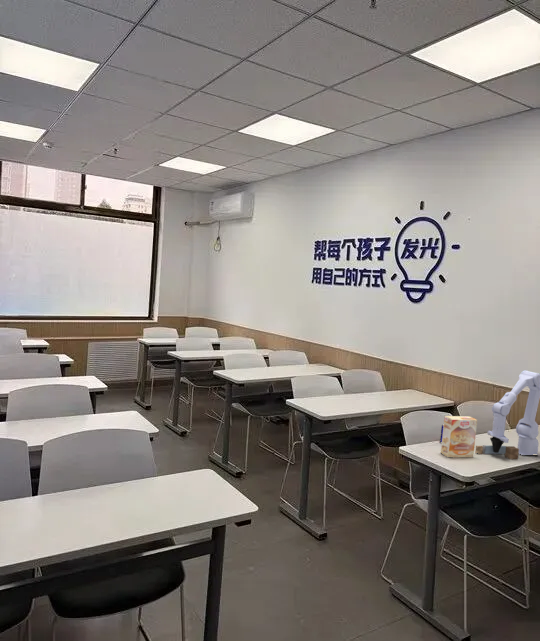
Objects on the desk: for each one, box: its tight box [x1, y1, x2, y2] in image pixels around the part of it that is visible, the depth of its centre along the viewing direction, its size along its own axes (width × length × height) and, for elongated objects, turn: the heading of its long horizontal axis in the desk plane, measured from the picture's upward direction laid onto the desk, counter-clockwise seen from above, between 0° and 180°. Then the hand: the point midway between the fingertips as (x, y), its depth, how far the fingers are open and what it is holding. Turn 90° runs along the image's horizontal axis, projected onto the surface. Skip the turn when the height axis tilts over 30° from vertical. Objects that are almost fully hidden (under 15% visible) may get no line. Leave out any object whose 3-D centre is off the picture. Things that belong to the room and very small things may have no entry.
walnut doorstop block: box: [504, 445, 519, 460], centre depth 265 cm, size 4×4×6 cm
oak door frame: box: [474, 445, 483, 455], centre depth 269 cm, size 18×2×4 cm, turn 101°
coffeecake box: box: [440, 415, 478, 458], centre depth 262 cm, size 15×7×20 cm, turn 105°
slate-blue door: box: [482, 444, 507, 455], centre depth 270 cm, size 13×1×4 cm, turn 101°
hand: (495, 452), depth 267 cm, fingers closed
